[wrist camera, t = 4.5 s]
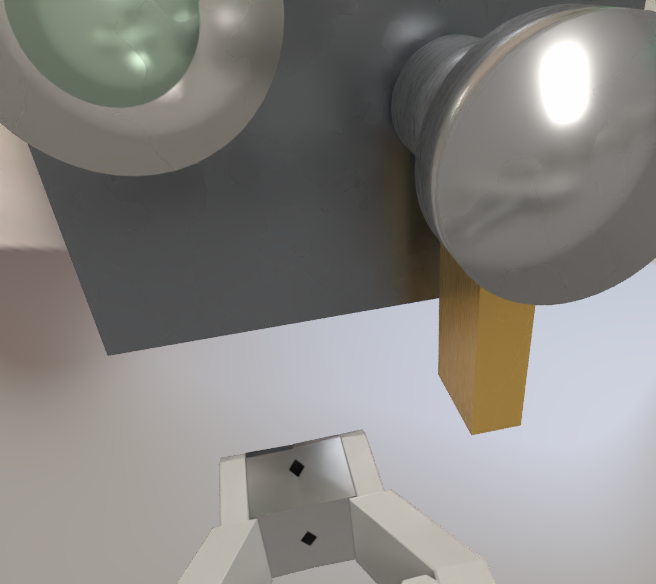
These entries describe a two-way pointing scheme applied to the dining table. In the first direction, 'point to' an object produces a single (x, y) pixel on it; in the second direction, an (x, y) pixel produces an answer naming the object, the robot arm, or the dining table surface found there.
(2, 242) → the dining table surface
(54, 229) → the dining table surface
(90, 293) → the base
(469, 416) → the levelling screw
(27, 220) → the dining table surface
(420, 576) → the robot arm
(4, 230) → the dining table surface
